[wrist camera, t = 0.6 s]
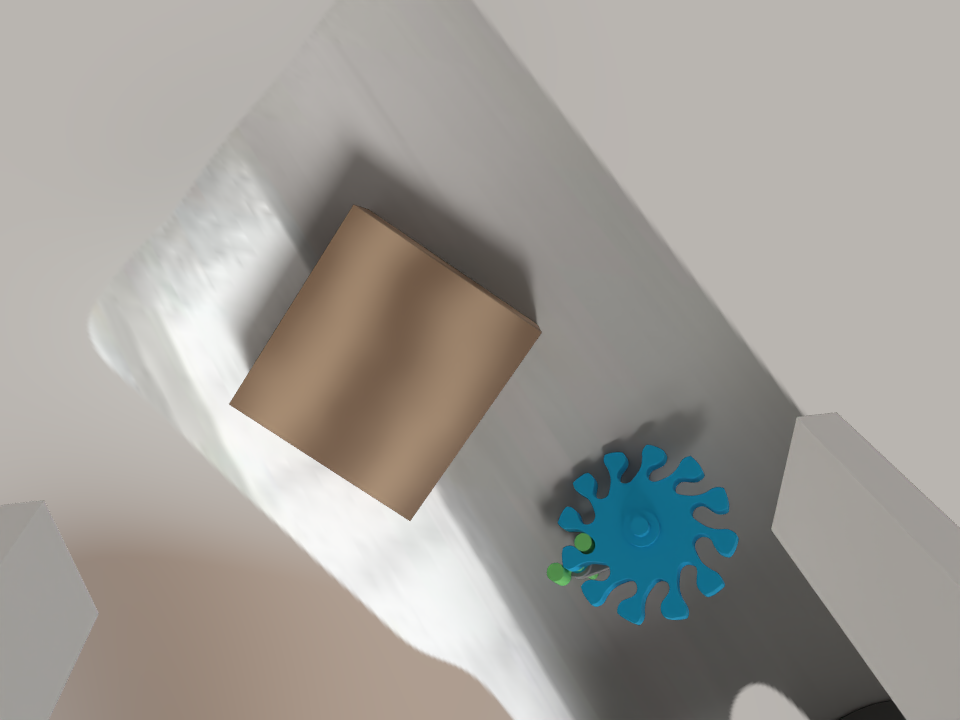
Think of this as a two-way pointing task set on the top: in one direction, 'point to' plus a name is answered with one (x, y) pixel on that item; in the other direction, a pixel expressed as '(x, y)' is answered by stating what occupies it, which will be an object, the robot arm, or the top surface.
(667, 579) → the gear
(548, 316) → the top surface
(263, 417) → the brown rectangular block
